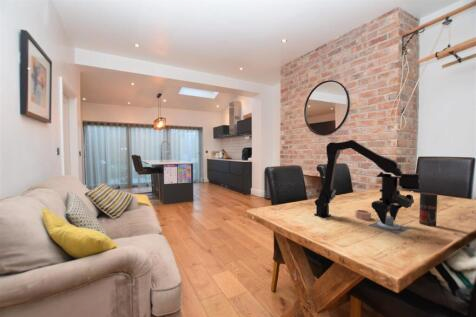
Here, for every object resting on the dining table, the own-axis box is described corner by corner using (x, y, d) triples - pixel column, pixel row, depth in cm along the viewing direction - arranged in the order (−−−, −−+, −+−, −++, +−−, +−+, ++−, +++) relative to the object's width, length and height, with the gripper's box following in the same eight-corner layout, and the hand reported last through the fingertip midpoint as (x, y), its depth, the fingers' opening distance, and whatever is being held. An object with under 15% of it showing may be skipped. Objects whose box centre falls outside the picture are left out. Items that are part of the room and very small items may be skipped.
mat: (397, 235, 88) (397, 234, 88) (367, 226, 98) (367, 225, 98) (410, 229, 94) (410, 228, 94) (380, 222, 105) (380, 220, 105)
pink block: (365, 222, 104) (366, 214, 104) (352, 218, 110) (353, 211, 110) (372, 219, 108) (373, 212, 108) (359, 216, 113) (360, 209, 113)
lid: (395, 231, 90) (395, 221, 90) (373, 225, 98) (373, 215, 97) (403, 227, 95) (404, 217, 95) (382, 222, 102) (383, 213, 102)
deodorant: (419, 222, 104) (420, 191, 103) (435, 225, 100) (436, 193, 99) (419, 226, 99) (420, 194, 98) (436, 229, 95) (437, 195, 94)
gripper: (400, 193, 84) (399, 232, 84) (420, 188, 93) (419, 223, 94) (371, 188, 93) (370, 223, 94) (391, 184, 103) (390, 216, 104)
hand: (388, 221), depth 96 cm, fingers open, 9 cm apart
